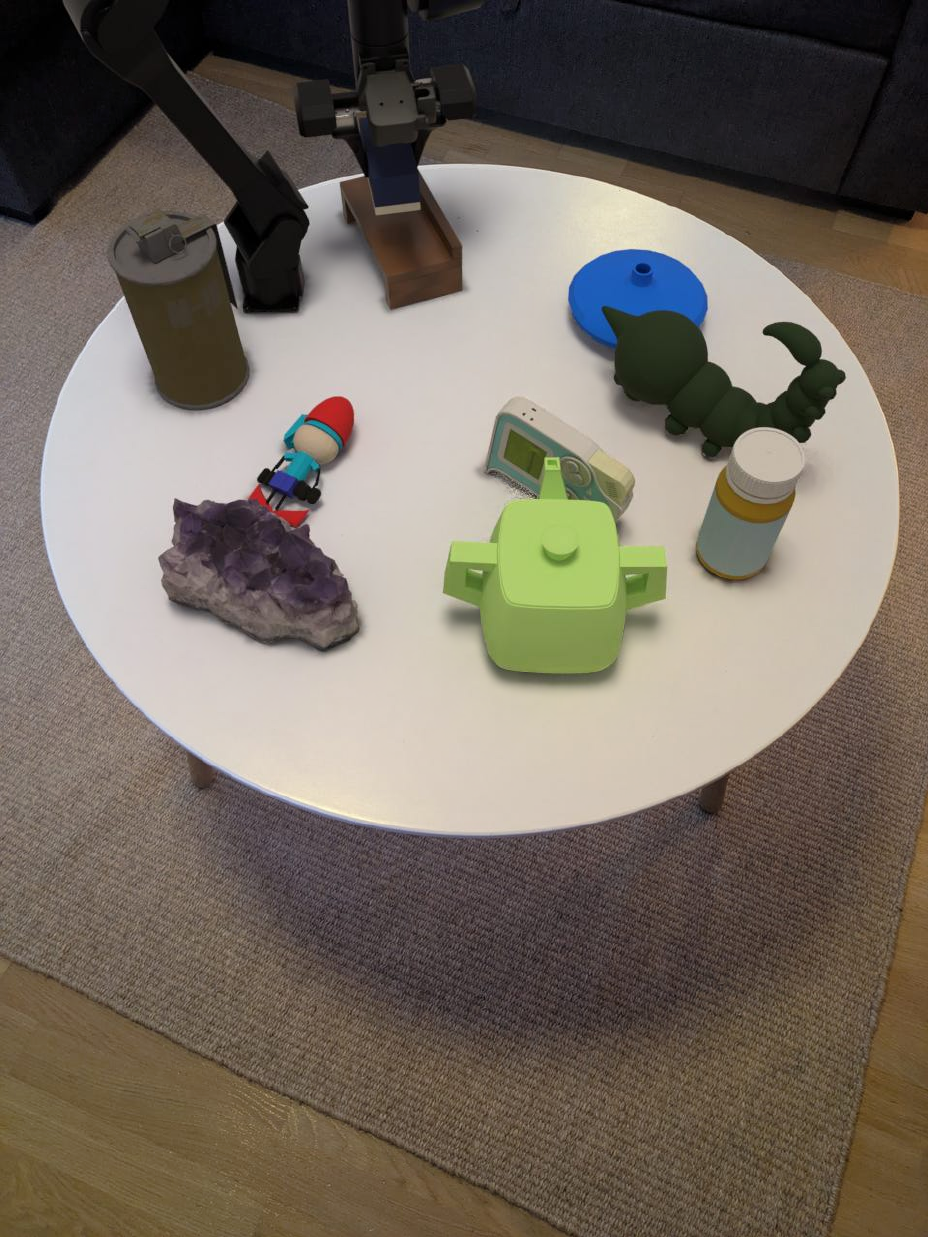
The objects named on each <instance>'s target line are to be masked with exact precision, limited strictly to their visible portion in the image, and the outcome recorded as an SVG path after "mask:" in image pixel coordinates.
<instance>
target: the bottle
mask: <svg viewBox="0 0 928 1237" xmlns="http://www.w3.org/2000/svg"><path fill="white" fill-rule="evenodd" d="M805 465H806V454H805V450H804V448H803V447H802V445H801V443H799V442H798V441H797V440H796V439H795V438H794V437H792V436H791V435H789V434H788V433H786V432H784V431H781V430H778V429H775V428H768V427H760V428H754V429H751V430H748V431H746V432H745V433H743V434H742V435H741V436H740V437H739V438H738V439H737V440H736V442H735V444H734V446H733V447H732V448H731V451H730V454H729V457H728V461H727V464H725V466H724V467H723V468H722V469H721V470H720V472H719V474H718V475H717V478H716V481H715V484H714V487H713V490H712V493H711V497H710V499H709V502H708V505H707V508H706V511H705V514H704V517H703V520H702V523H701V526H700V529H699V531H698V535H697V539H696V543H695V548H696V554H697V556H698V559H699V560H700V562H701V564H702V565H703V566H704V567H705V568H706V569H707V570H708V571H710V572H711V573H712V574H714V575H717V576H719V577H721V578H725V579H728V580H744V579H745V580H746V579H749V578H752V577H754V576H756V575H757V574H758V573H760V572H762V570H763V569H764V567H765V566H766V564H767V562H768V561H769V558H770V556H771V553H772V551H773V550H774V547H775V545H776V543H777V540H778V538H779V536H780V534H781V532H782V530H783V527H784V525H785V523H786V520H787V518H788V516H789V514H790V512H791V510H792V507H793V505H794V503H795V499H796V495H797V494H796V493H797V491H796V485H797V484H798V482H799V481H800V477H801V475H802V474H803V471H804V469H805Z"/></svg>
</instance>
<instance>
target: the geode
mask: <svg viewBox="0 0 928 1237" xmlns="http://www.w3.org/2000/svg"><path fill="white" fill-rule="evenodd" d="M172 512H173V520H174V523H175V524H174V526H173V534H172V539H171V544H172V545H173V546H171V547H170V548H168V549H167V550H165V551H164V552H163V553H161V554H159V555H158V557H157V560H158V563H159V566H160V568H161V570H162V572H163V574H162V577H161V579H160V583H161V586H162V588H163V589H164V591H165V593H166V595H167V597H168V598H167V599H168V600H169V601H171V602H172V603H175V604H177V605H179V606H181V607H185V608H193V609H198V610H202V611H206V612H211V613H212V614H213V615H214V616H215V617H217V618H218V619H219V620H221V621H222V622H223V623H224V624H231V625H232V626H233V627H235V628H236V629H238V630H241V631H243V632H245V633H246V634H247V635H249V636H250V637H252V638H254V639H256V640H257V641H259V642H263V643H272V642H275V641H277V640H280V639H281V638H283V637H284V638H290V639H294V640H300V641H303V642H306V643H308V644H310V645H312V647H315V648H316V649H319V650H322V651H327V650H329V649H331V648H334V647H336V646H338V645H341V644H344V643H346V642H348V641H350V640H352V637H353V636H354V635H356V634H357V633H358V632H359V630H360V626H359V621H358V616H357V614H358V612H359V611H358V607H359V604H358V602H356V601H355V600H353V599H352V598H353V592H352V591H351V590H350V588H349V583H348V580H347V577H344V574H343V573H342V572H341V570H340V569H339V566H338V564H337V562H336V560H334V558H331V557H330V556H327V555H326V554H325V553H324V552H323V550H322V549H321V548H320V547H318V546H316V544H315V543H314V541H312V539H311V538H310V537H311V535H310V533H311V528H310V524H308V523H305V524H303V525H301V526H299V527H296V528H294V529H292V526H291V525H290V524H289V523H288V522H287V521H286V520H285V519H283V518H281V517H279V516H277V515H276V514H275V513H273V512H271V511H270V510H268V508H267V506H262V505H260V503H259V501H258V500H257V499H249V498H247V500H246V499H237V500H233V501H229V502H227V503H226V502H225V503H224V502H216V501H215V500H211V499H204V500H202V502H200V503H199V504H198V505H196V504H193V503H189V502H185V501H182V500H180V499H179V498H176V497H174V499H173V505H172Z"/></svg>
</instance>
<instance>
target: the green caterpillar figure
mask: <svg viewBox="0 0 928 1237" xmlns="http://www.w3.org/2000/svg"><path fill="white" fill-rule="evenodd" d="M602 312H603V314H604V316H605V318H606V320H607V322H608V323H609V325H610V327H611V329H612V330H613V332H614V334H615V336H616V339H617V344H616V347H615V349H614V354H613V356H614V357H613V366H614V374H613V381H614V383H615V385H617V386H620V387H621V388H622V389H623V393H624V395H625V397H626V398H627V399H629V401H633V402H642V403H644V404H648V405H652V406H666V409H667V410H668V412H669V413H668V414H667V416H666V417H665V418H664V430H665V431H666V432H667V433H668V435H671V436H672V437H679V436H682V435H685V434H686V433H687V432H688V431H689V428H692V429H699V431H700V433H701V435H702V436H703V437H704V438H705V440H704V441H703V442H702V443H701V447H700V448H701V453H702V454H703V455H704V456H705V457H706V458H716V457H717V456H718V455H719V454H720V453H721V451H722V449H723V448H733V446H734V444H735V442H736V440H737V439H738V438H739V437H740V436H741V435H742V434H743V433H745V432H746V431H748V430H751V429H754V428H760V427H768V428H775V429H778V430H781V431H784V432H786V433H788V434H789V435H791V436H792V437H794V438H795V439H796V440H797V441H798V442H799V443H800V444H806V443H807V442H808V441H809V440H810V438H811V437H812V431H811V429H810V428H811V427H812V426H813V424H815V422H816V421H819V420H821V419H822V418H823V417H824V416H825V414H826V412H827V411H826V407H827V405H828V404H829V402H830V401H832V400H834V399H835V398H836V396H837V389H838V387H839V386H840V385H841V384H843V383H844V382H845V380H846V378H847V376H846V372H845V371H844V370H842V369H839V368H838V366H837V365H836V364H835V363H834V362H832V361H831V360H828V359H825V358H824V359H823V358H821V357H822V354H823V348H822V343H821V341H820V340H819V339H818V336H816V335H815V334H814V333H813V332H812V331H811V330H810V329H808V328H807V327H806V326H805V327H804V326H803V325H801V324H799V323H797V322H796V323H795V322H792V321H775V322H773V323H770V324H768V325H766V326H765V327H764V328H763V329H762V332H761V333H762V335H763V336H765V337H772V338H774V339H776V340H777V341H779V342H780V343H781V344H782V345H783V346H784V347H785V348H786V349H787V350H788V351H789V353H790V354H791V356H792V357H793V359H794V360H795V361H796V362H797V363H799V364H800V365H802V366H804V367H803V368H802V370H801V372H800V374H799V375H797V376H796V377H794V378H793V379H792V380H791V381H790V383H789V385H788V386H787V389H786V390H785V391H782V393H780V394H779V395H778V396H777V397H776V398H775V400H774V401H771V402H768V403H767V404H766V403H764V402H757V400H756V399H755V398H754V396H753V395H752V394H751V393H750V392H748V391H747V390H745V389H744V388H742V387H738V386H733V384H732V381H731V378H730V375H728V373H727V372H726V370H724V369H723V368H722V367H721V366H720V365H718V364H716V363H715V362H712V361H709V349H708V345H707V341H706V339H705V336H704V334H703V332H702V330H701V329H700V327H698V326H697V325H696V324H695V323H694V322H693V321H691V320H690V319H689V318H688V317H686V316H684V315H683V314H680V313H678V312H674V311H668V310H657V311H651V312H647V313H645V314H642V315H640V316H635V315H631V314H628V313H625V312H623V311H620V310H617V309H614V308H611V307H608V306H603V307H602Z"/></svg>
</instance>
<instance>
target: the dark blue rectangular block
mask: <svg viewBox="0 0 928 1237" xmlns="http://www.w3.org/2000/svg"><path fill="white" fill-rule="evenodd" d="M358 126H359V131H360V135H361V139H362V143H363V147H364V151H365V155H366V160H367V164H368V176H369V177H368V182H369V187H370V191H371V196H372V201H373V205H374V210H375V214H376V215H383V214H391V213H399V212H407V211H415V210H420V188H419V173H418V170H419V168H418V167H417V165H416V161H415V157H414V153H413V149H412V146H411V143H407V144H406V143H396V144H388V145H387V146H382V147H380V146H376V145H374V144H373V143H372V141H371V138H370V132H369V126H368V121H367V116H366V117H359V118H358ZM417 168H418V169H417Z"/></svg>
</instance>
